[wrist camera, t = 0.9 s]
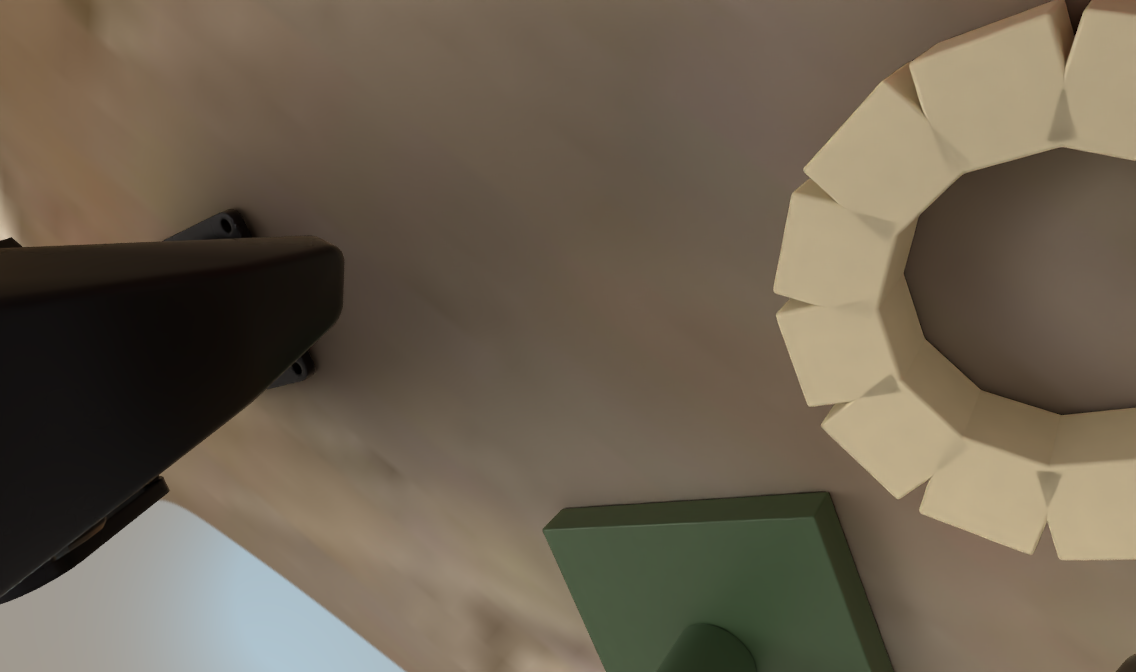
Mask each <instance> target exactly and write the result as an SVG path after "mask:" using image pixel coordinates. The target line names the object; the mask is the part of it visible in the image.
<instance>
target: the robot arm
mask: <svg viewBox="0 0 1136 672" xmlns="http://www.w3.org/2000/svg"><path fill="white" fill-rule="evenodd" d="M343 291H344V256H343V253H342V251H341V250H340V249H339V248H338V247H336V246H334V245H333V244H331V243H329V242H327V241H325V240H323V239H321V238H318V237H316V236H284V237H260V238H252V236H251V234H250V232H249V230H248V228H247V226H246V223H245V221H244V219H243V218H242V216H241V215H240V214H239V213H238V212H237V211H236V210H234V209H229V210H226V211H223V212H221V213H218V214H216V215H214V216H212V217H210V218H208V219H206V220H204V221H202V222H200V223H198V224H196V225H194V226H192V227H190V228H188V229H186V230H184V231H182V232H180V233H178V234H176V235H174V236H172V237H170V238H168V239H166V240H164V241H162V242H140V243H116V244H92V245H68V246H44V247H22V246H21V245H20V244H19V243H17V242H16V241H15V240H14V239H13V238H12V237H11V238H8V239H5V240H2V241H0V604H2V603H5V602H8V601H11V600H13V599H16V598H18V597H21V596H23V595H25V594H27V593H29V592H31V591H33V590H36V589H38V588H40V587H41V586H43V585H45V584H47V583H49V582H50V581H52V580H54V579H56V578H58V577H59V576H61V575H62V574H64V573H66V572H67V571H69V570H70V569H72V568H73V567H75V566H76V565H77V564H79V563H80V562H81V561H83V560H84V559H85V558H86V557H88V556H89V555H90V554H91V553H93V552H94V551H95V550H96V549H98V548H99V547H100V546H101V545H103V544H104V543H105V542H107V541H108V540H109V539H110V538H112V537H113V536H114V535H115V534H117V533H118V532H119V531H120V530H122V529H123V528H124V527H125V526H127V525H128V524H129V523H130V522H132V521H133V520H134V519H136V518H137V517H138V516H139V515H140V514H142V513H143V512H144V511H146V510H147V509H148V508H149V507H150V506H152V505H153V504H154V503H156V502H157V501H158V500H159V499H161V498H162V497H163V496H164V495H166V494H167V493H168V492H169V491H170V490H169V488H168V486H167V484H166V482H165V480H164V478H163V477H162V476H159V474H161V473H162V472H163V471H164V470H166V469H167V468H168V467H170V466H171V465H172V464H173V463H175V462H176V461H177V460H179V459H180V458H181V457H182V456H184V455H185V454H186V453H188V452H189V451H190V450H192V449H193V448H194V447H195V446H197V445H198V444H199V443H201V442H202V441H203V440H204V439H206V438H207V437H208V436H210V435H211V434H212V433H213V432H215V431H216V430H217V429H219V428H220V427H221V426H223V425H224V424H225V423H226V422H228V421H229V420H230V419H232V418H233V417H234V416H235V415H237V414H238V413H239V412H240V411H242V410H243V409H244V408H245V407H247V406H248V405H249V404H250V403H251V402H253V401H254V400H255V399H256V398H257V397H258V396H259V395H260V394H261V393H263V392H264V391H265V390H266V389H270V388H274V387H279V386H283V385H287V384H291V383H295V382H299V381H303V380H305V379H307V378H308V377H310V376H312V375H313V374H314V372H315V365H314V362H313V360H312V358H311V356H310V354H309V352H308V349H309V348H310V347H311V346H312V345H313V344H314V343H315V342H317V341H318V340H319V339H320V338H321V337H322V336H323V335H324V334H325V333H326V332H327V331H328V330H329V329H330V328H331V327H332V326H333V325H334V324H335V323H336V321H337V320H338V318H339V316H340V314H341V311H342V308H343ZM1116 672H1136V654H1134V655H1132V656H1130V657H1129V658H1128V659H1126V660H1125V662H1124V663H1123V664H1122V665H1121V666H1120V667H1119V669H1118V670H1117V671H1116Z"/></svg>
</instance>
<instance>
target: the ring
mask: <svg viewBox="0 0 1136 672" xmlns="http://www.w3.org/2000/svg"><path fill="white" fill-rule="evenodd" d="M1060 147H1065V148H1070V149H1075V150H1080V151H1086V152H1091V153H1096V154H1101V155H1106V156H1112V157H1117V158H1122V159H1127V160H1132V161H1136V0H1091V1H1090V3H1089V4H1088V6H1087V7H1086V9H1085V10H1084V11H1083V14H1082V17H1081V20H1080V23H1079V26H1078V29H1077V32H1076V35H1075V37H1074V33H1073V29H1072V26H1071V22H1070V18H1069V14H1068V10H1067V6H1066V3H1065V1H1064V0H1054V1H1051V2H1048V3H1045V4H1043V5H1040V6H1037V7H1035V8H1032V9H1029V10H1026V11H1024V12H1021V13H1018V14H1016V15H1013V16H1010V17H1007V18H1005V19H1002V20H999V21H996V22H994V23H991V24H988V25H986V26H983V27H980V28H977V29H975V30H972V31H969V32H967V33H964V34H961V35H958V36H956V37H953V38H950V39H948V40H945V41H942V42H939V43H937V44H935V45H934V46H933V47H931V48H930V49H928V50H927V51H926V52H924V53H923V54H922V55H920V56H919V57H917V58H916V59H915V60H913V61H910V62H908V63H907V64H905V65H904V66H902V67H901V68H899V69H898V70H897V71H895V72H894V73H892V74H891V75H890V76H888V77H887V78H885V79H884V80H883V81H881V82H880V84H879V85H878V86H877V87H876V88H875V89H874V90H873V91H872V92H871V94H870V95H869V96H868V97H867V98H866V99H865V100H864V101H863V103H862V104H861V105H860V106H859V107H858V108H857V109H856V110H855V111H854V113H853V114H852V115H851V116H850V117H849V118H848V119H847V120H846V122H845V123H844V124H843V125H842V126H841V127H840V128H839V129H838V130H837V132H836V133H835V134H834V135H833V136H832V137H831V138H830V139H829V140H828V142H827V143H826V144H825V145H824V146H823V147H822V148H821V149H820V151H819V152H818V153H817V154H816V155H815V156H814V157H813V158H812V159H811V161H810V162H809V163H808V164H807V165H806V166H805V167H804V169H803V171H804V173H805V174H807V175H808V176H809V177H810V178H809V179H808V180H807V181H806V182H805V183H803V184H802V185H801V186H800V187H799V188H797V189H796V190H795V191H794V192H793V193H792V195H791V199H790V205H789V210H788V215H787V220H786V225H785V231H784V236H783V241H782V246H781V251H780V257H779V262H778V267H777V272H776V277H775V283H774V288H773V289H774V293H776V294H779V295H782V296H786V297H789V298H790V299H789V300H788V301H787V302H786V303H785V304H784V306H783V307H782V308H781V309H780V310H779V311H778V312H777V313H776V319H777V322H778V325H779V327H780V330H781V333H782V336H783V339H784V341H785V344H786V347H787V350H788V352H789V355H790V358H791V361H792V364H793V366H794V369H795V372H796V375H797V377H798V380H799V383H800V386H801V388H802V391H803V394H804V397H805V400H806V402H807V405H808V406H810V407H814V406H821V405H829V404H834V405H833V407H832V408H831V410H830V412H829V413H828V415H827V416H826V418H825V419H824V421H823V422H822V424H821V427H822V428H823V429H824V430H825V431H826V432H827V433H828V434H829V435H830V436H831V437H832V438H833V439H834V440H835V441H836V442H837V443H838V444H839V445H840V446H841V447H842V448H844V449H845V450H846V451H847V452H848V453H849V454H850V455H851V456H852V457H853V458H854V459H855V460H856V461H857V462H858V463H859V464H860V465H861V466H862V467H864V468H865V469H866V470H867V471H868V472H869V473H870V474H871V475H872V476H873V477H874V478H875V479H876V480H877V481H878V482H879V483H880V484H881V485H882V486H884V487H885V488H886V489H887V490H888V491H889V492H890V493H891V494H892V495H893V496H894V497H895V498H896V499H900V498H902V497H903V496H905V495H906V494H908V493H909V492H911V491H912V490H914V489H915V488H917V487H918V486H920V485H921V484H923V483H924V482H926V481H927V480H929V481H928V484H927V487H926V490H925V493H924V496H923V499H922V502H921V505H920V508H919V510H920V513H921V514H923V515H926V516H928V517H931V518H934V519H936V520H939V521H941V522H944V523H947V524H949V525H952V526H955V527H957V528H960V529H962V530H965V531H968V532H970V533H973V534H976V535H978V536H981V537H983V538H986V539H989V540H991V541H994V542H997V543H999V544H1002V545H1005V546H1007V547H1010V548H1012V549H1015V550H1018V551H1020V552H1023V553H1026V554H1028V555H1032V554H1033V553H1034V551H1035V549H1036V547H1037V544H1038V542H1039V540H1040V537H1041V535H1042V533H1043V530H1044V528H1045V526H1046V523H1047V522H1048V525H1049V529H1050V532H1051V535H1052V539H1053V542H1054V545H1055V548H1056V552H1057V555H1058V557H1059V558H1060V560H1136V408H1127V409H1117V410H1108V411H1098V412H1088V413H1079V414H1069V415H1059V414H1056V413H1052V412H1049V411H1046V410H1043V409H1040V408H1036V407H1033V406H1030V405H1027V404H1024V403H1020V402H1017V401H1014V400H1011V399H1008V398H1004V397H1001V396H998V395H995V394H992V393H988V392H985V391H982V390H980V389H979V388H978V387H977V386H976V385H975V384H974V383H973V382H972V381H970V380H969V379H968V378H967V377H966V376H965V375H964V374H963V373H962V372H961V371H960V370H958V369H957V368H956V367H955V366H954V365H953V364H952V363H951V362H950V361H949V360H948V359H946V358H945V357H944V356H943V355H942V354H941V353H940V352H939V351H938V350H937V349H936V348H934V347H933V346H932V345H931V344H930V343H929V342H928V341H927V340H926V339H925V338H924V335H923V332H922V329H921V326H920V323H919V320H918V317H917V314H916V311H915V307H914V304H913V301H912V298H911V295H910V292H909V289H908V286H907V283H906V280H905V276H904V270H905V266H906V262H907V259H908V255H909V251H910V247H911V244H912V240H913V236H914V233H915V229H916V225H917V222H918V218H919V215H920V214H921V213H922V212H923V211H924V210H925V209H926V208H927V207H928V206H929V205H931V204H932V203H933V202H934V201H935V200H936V199H937V198H938V197H939V196H940V195H941V194H942V193H943V192H944V191H945V190H947V189H948V188H949V187H950V186H951V185H952V184H953V183H954V182H955V181H956V180H957V179H958V178H959V177H960V176H961V175H962V174H964V173H968V172H972V171H975V170H979V169H983V168H986V167H990V166H994V165H997V164H1001V163H1005V162H1008V161H1012V160H1016V159H1019V158H1023V157H1027V156H1030V155H1034V154H1038V153H1041V152H1045V151H1049V150H1052V149H1056V148H1060Z"/></svg>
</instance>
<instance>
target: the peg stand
mask: <svg viewBox="0 0 1136 672" xmlns="http://www.w3.org/2000/svg"><path fill="white" fill-rule="evenodd" d="M543 533H544V535H545V537H546V539H547V541H548V544H549V546H550V548H551V550H552V553H553V555H554V557H555V559H556V561H557V564H558V566H559V568H560V570H561V573H562V575H563V577H564V579H565V582H566V584H567V586H568V588H569V590H570V593H571V595H572V597H573V599H574V602H575V604H576V606H577V608H578V610H579V613H580V615H581V617H582V619H583V622H584V624H585V626H586V628H587V631H588V633H589V635H590V637H591V639H592V642H593V644H594V646H595V648H596V651H597V653H598V655H599V657H600V659H601V662H602V664H603V666H604V668H605V671H606V672H894V671H893V669H892V666H891V663H890V660H889V658H888V655H887V652H886V649H885V647H884V644H883V641H882V638H881V636H880V633H879V630H878V627H877V625H876V622H875V619H874V616H873V614H872V611H871V608H870V605H869V603H868V600H867V597H866V594H865V592H864V589H863V586H862V583H861V581H860V578H859V575H858V572H857V570H856V567H855V564H854V561H853V559H852V556H851V553H850V550H849V548H848V545H847V542H846V539H845V537H844V534H843V531H842V528H841V526H840V523H839V520H838V517H837V515H836V512H835V509H834V506H833V504H832V501H831V498H830V495H829V493H828V492H819V493H804V494H788V495H773V496H757V497H742V498H726V499H711V500H695V501H679V502H664V503H648V504H633V505H617V506H602V507H586V508H571V509H562V510H561V511H560V512H559V513H558V514H557V515H556V516H555V517H554V518H553V519H552V520H551V521H550V522H549V523H548V524H547V525H546V526H545V527H544V528H543Z"/></svg>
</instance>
